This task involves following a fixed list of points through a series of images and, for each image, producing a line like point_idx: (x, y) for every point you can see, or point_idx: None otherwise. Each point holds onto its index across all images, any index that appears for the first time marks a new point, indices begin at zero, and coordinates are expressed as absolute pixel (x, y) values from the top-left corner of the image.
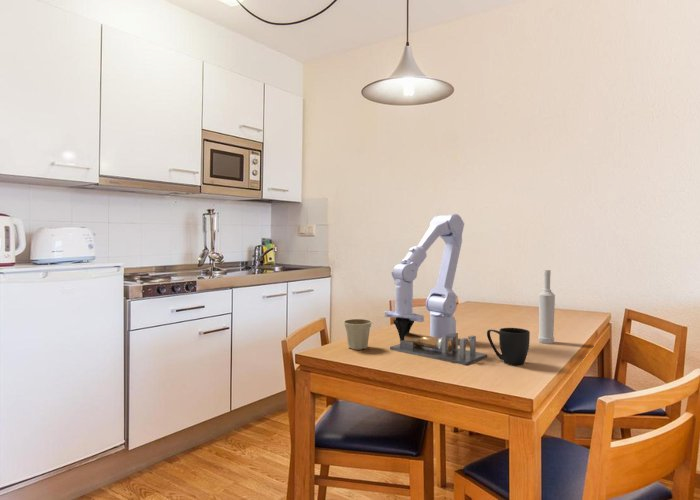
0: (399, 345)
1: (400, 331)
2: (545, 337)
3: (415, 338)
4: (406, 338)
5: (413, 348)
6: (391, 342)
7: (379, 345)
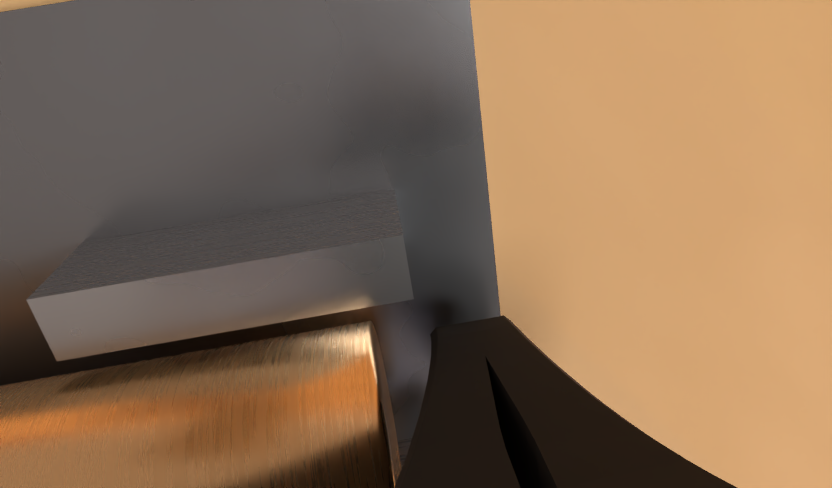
0: (421, 199)
1: (533, 444)
2: None
3: (33, 445)
4: (304, 364)
5: (71, 247)
6: (763, 334)
7: (817, 18)
